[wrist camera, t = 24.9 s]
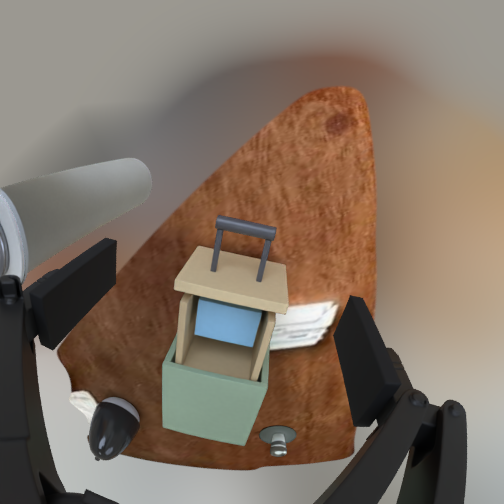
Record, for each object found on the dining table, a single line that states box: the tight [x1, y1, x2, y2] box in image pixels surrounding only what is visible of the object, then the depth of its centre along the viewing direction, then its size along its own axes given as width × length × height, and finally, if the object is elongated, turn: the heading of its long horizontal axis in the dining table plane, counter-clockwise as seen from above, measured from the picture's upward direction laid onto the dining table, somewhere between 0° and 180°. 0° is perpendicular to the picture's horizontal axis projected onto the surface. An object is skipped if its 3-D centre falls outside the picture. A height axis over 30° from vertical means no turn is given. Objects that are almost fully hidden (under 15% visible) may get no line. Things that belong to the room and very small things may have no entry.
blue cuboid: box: [194, 296, 262, 347], centre depth 35 cm, size 7×5×6 cm
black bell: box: [89, 397, 140, 461], centre depth 46 cm, size 10×10×15 cm
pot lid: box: [259, 426, 296, 457], centre depth 50 cm, size 12×12×5 cm
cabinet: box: [162, 334, 270, 446], centre depth 40 cm, size 15×13×12 cm
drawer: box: [174, 215, 289, 382], centre depth 34 cm, size 20×11×10 cm, turn 168°
